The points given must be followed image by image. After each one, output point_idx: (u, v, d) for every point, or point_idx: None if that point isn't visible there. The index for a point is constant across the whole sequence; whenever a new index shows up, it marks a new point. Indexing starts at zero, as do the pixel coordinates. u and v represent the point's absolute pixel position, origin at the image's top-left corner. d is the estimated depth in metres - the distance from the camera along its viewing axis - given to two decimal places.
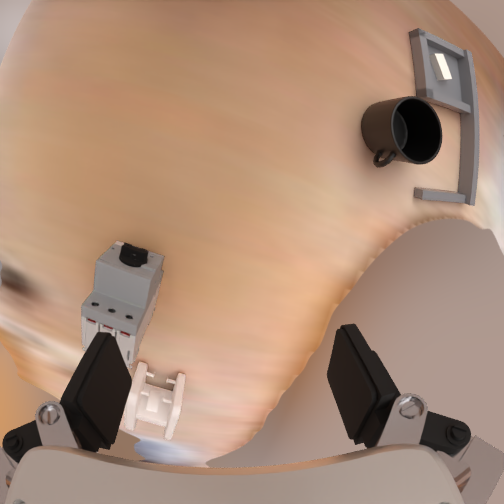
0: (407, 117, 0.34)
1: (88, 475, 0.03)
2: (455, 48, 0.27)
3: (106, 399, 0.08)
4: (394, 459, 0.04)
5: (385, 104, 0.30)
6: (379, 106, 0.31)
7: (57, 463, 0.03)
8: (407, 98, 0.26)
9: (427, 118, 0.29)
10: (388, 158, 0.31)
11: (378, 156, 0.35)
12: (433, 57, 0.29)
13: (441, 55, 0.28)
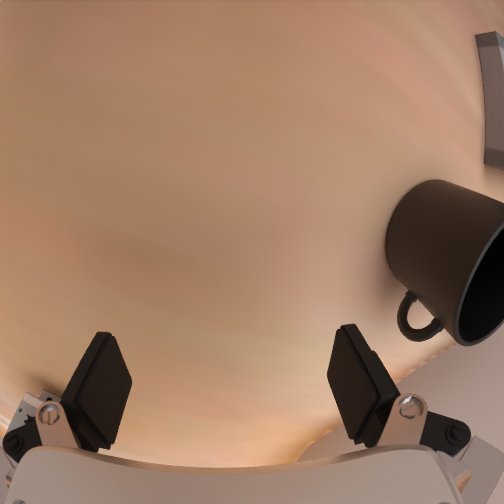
0: None
1: (88, 475, 0.03)
2: None
3: (106, 399, 0.08)
4: (394, 459, 0.04)
5: (452, 216, 0.13)
6: (435, 212, 0.14)
7: (57, 463, 0.03)
8: None
9: None
10: (429, 334, 0.15)
11: (409, 305, 0.18)
12: None
13: None
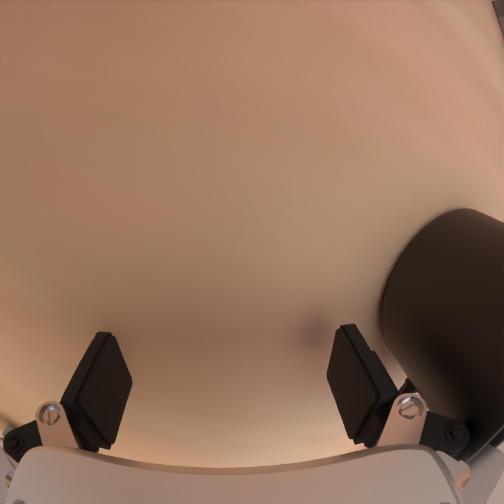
0: None
1: (88, 475, 0.03)
2: None
3: (106, 399, 0.08)
4: (394, 459, 0.04)
5: (496, 296, 0.06)
6: (466, 280, 0.07)
7: (57, 463, 0.03)
8: None
9: None
10: None
11: None
12: None
13: None
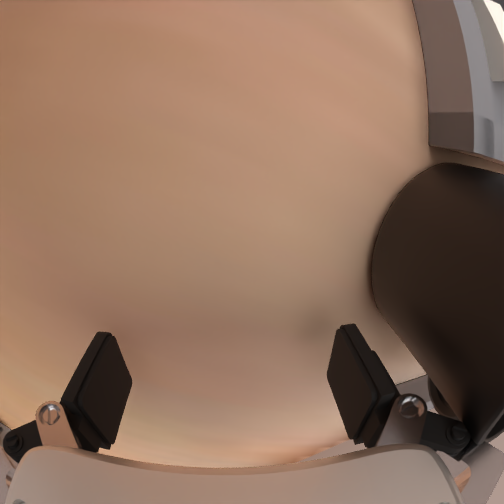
0: None
1: (88, 475, 0.03)
2: None
3: (106, 399, 0.08)
4: (394, 459, 0.04)
5: (457, 302, 0.06)
6: (427, 285, 0.07)
7: (57, 463, 0.03)
8: None
9: None
10: None
11: None
12: (478, 7, 0.05)
13: (498, 7, 0.04)
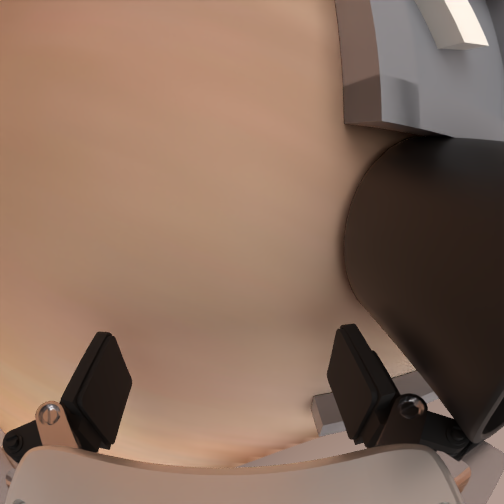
0: None
1: (88, 475, 0.03)
2: None
3: (106, 399, 0.08)
4: (394, 459, 0.04)
5: (417, 330, 0.06)
6: (391, 309, 0.08)
7: (57, 463, 0.03)
8: None
9: None
10: None
11: None
12: None
13: None
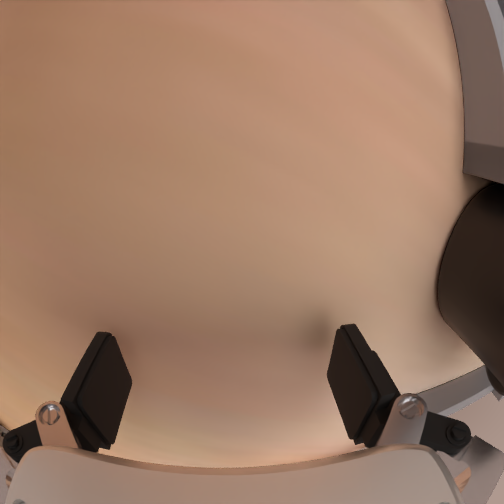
0: None
1: (88, 475, 0.03)
2: None
3: (106, 399, 0.08)
4: (394, 459, 0.04)
5: None
6: (488, 311, 0.08)
7: (57, 463, 0.03)
8: None
9: None
10: None
11: None
12: None
13: None
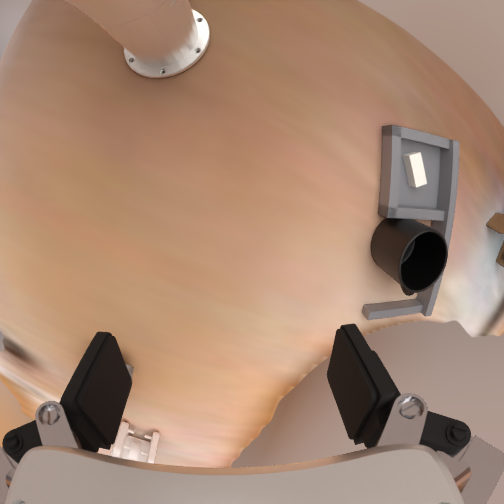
0: None
1: (88, 475, 0.03)
2: (438, 140, 0.32)
3: (106, 399, 0.08)
4: (394, 459, 0.04)
5: (387, 256, 0.35)
6: (382, 254, 0.36)
7: (57, 463, 0.03)
8: (404, 252, 0.31)
9: None
10: (412, 291, 0.36)
11: None
12: (407, 158, 0.34)
13: (418, 155, 0.33)
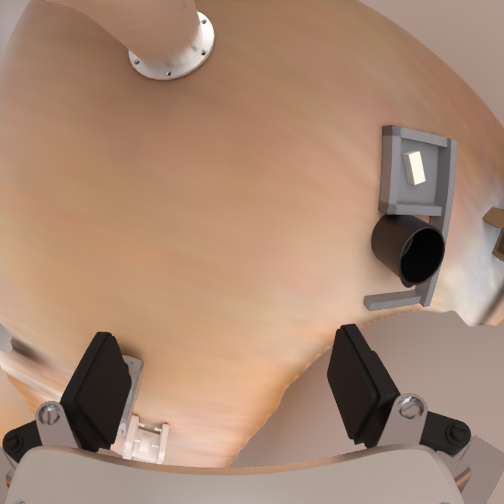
0: None
1: (88, 475, 0.03)
2: (436, 139, 0.33)
3: (106, 399, 0.08)
4: (394, 459, 0.04)
5: (387, 251, 0.37)
6: (382, 248, 0.38)
7: (57, 463, 0.03)
8: (403, 248, 0.33)
9: None
10: None
11: None
12: (407, 157, 0.35)
13: (417, 154, 0.35)
